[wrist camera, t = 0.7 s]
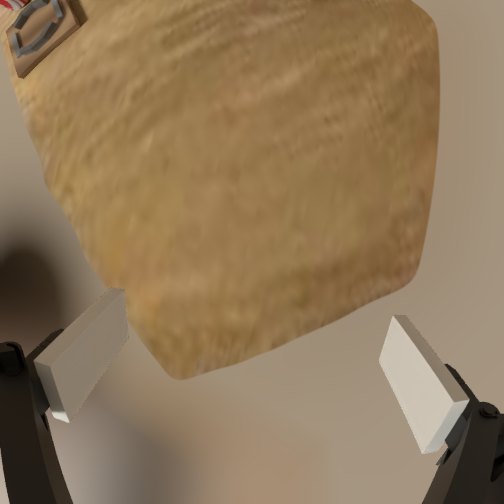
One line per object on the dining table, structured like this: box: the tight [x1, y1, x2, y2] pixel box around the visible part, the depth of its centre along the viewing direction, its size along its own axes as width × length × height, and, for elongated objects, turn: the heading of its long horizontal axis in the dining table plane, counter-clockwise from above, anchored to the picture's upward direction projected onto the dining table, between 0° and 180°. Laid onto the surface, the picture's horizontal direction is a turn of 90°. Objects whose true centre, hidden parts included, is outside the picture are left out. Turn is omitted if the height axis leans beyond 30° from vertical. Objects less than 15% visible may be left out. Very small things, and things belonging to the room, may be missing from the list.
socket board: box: [6, 0, 81, 79], centre depth 31 cm, size 13×13×3 cm
